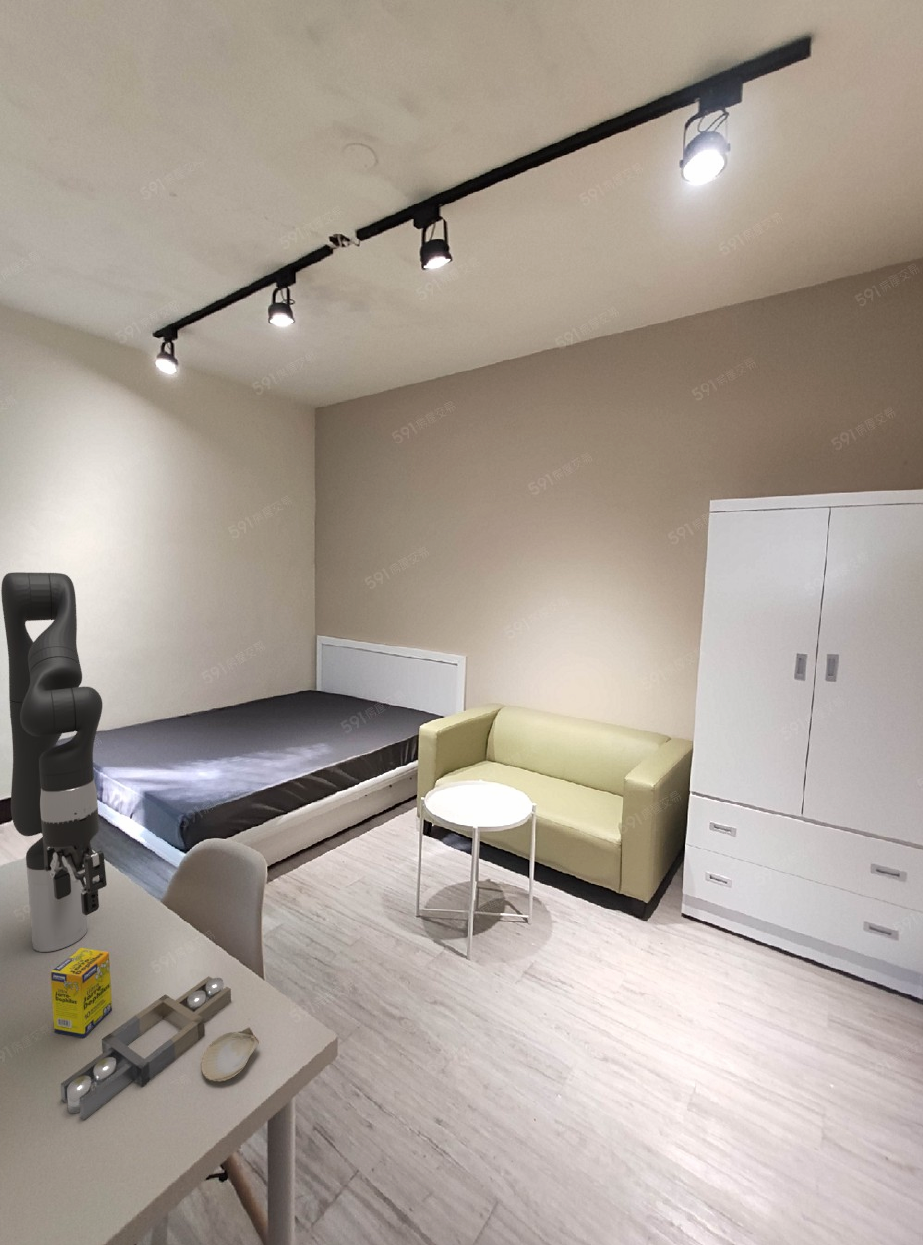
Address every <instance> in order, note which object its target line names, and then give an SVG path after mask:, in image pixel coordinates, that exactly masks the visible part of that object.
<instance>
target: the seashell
mask: <svg viewBox="0 0 923 1245" xmlns="http://www.w3.org/2000/svg"><path fill="white" fill-rule="evenodd" d="M259 1043H260V1041H259V1039H258V1038H257V1036H255V1035H254V1033H253V1030H252V1029H251V1027H247V1028H245V1029H242V1031H233V1032H227V1033H225V1034H222V1035H219V1036H218V1037H217V1038H215V1040H213V1041H212V1042H211V1043H210V1044H209V1046H208V1047H207V1048H206V1050H205V1051H204V1054H203V1056H202V1059H201V1061H200V1066H201V1067H200V1069H201V1073H202V1076H203V1077H204V1078H205V1079H206V1080H208V1081H210V1082H213V1083H217V1082H218V1083H221V1082H222V1081H223V1082H226V1081H227V1080H230V1079H232V1078H233V1077H236V1076H237V1075H238V1074H239V1073H241V1071H242V1070H243V1069H244V1068H245V1066H246V1065H247V1062H249V1059H250V1057H251V1055H252V1054H253V1053H254V1052H255V1050H256V1049H257V1047H258V1046H259Z"/></svg>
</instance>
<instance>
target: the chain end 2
mask: <svg viewBox="0 0 923 1245" xmlns="http://www.w3.org/2000/svg"><path fill="white" fill-rule="evenodd" d="M231 990H232V989H231V988H230V987H229V986H226V987H224V979H223V978H222V977H214V978H212V977H211V976H207V977H206V978H204V979H203V980H202V981H200V982H198V983H197V984H196V985H194V986H193V987H192V988H191V989H189V990H188V991H186V992H185V993H183V994H182V995H181V996H179V997H178V998H177V999H173V998H172V997H170V996H168V995H167V994H164V995H162V996H161V997H159V998H158V999H156V1000H155V1001H153V1002H152V1003H151V1004H149V1005H148V1006H146V1007H145V1008H144V1009H142V1010H141V1011H140V1012H138V1013H136V1014H135V1015H134V1016H136V1017H138V1018H139V1020H140V1036H142V1035H143V1034H145V1033H146V1032H147V1031H148V1030H149V1029H151V1028H153V1027H154V1026H155V1025H156V1024H158V1023H159V1022H160V1021H162V1020H163V1019H165V1020H166V1021H168V1022H169V1023H171V1024H172V1025H173V1026H175V1027H177V1028H178V1029H179V1031H178V1032H176V1033H175V1034H174V1035H172V1036H171V1038H169V1039H170V1040H172V1041H173V1042H174V1047H175V1061H176V1060H177V1059H178V1058H179V1057H181V1056H182V1055H183V1054H185V1053H186V1051H188V1050H190V1048H191V1047H193V1046H194V1045H195V1044H197V1043H198V1042H199V1041H200V1040H201V1039H203V1038H204V1037H205V1036H206V1029H205V1024H206V1023H207V1022H208V1021H209V1020H211V1019H212V1018H213V1017H215V1015H217V1014H218V1013H220V1011H222V1010H223V1009H224V1008H225V1007H226V1006H228V1005H229V1004H230V1003H232V992H231Z"/></svg>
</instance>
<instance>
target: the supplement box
mask: <svg viewBox="0 0 923 1245" xmlns="http://www.w3.org/2000/svg"><path fill="white" fill-rule="evenodd" d="M110 969H111V968H110V952H108V951H103V950H96V949H91V948H85V947H80V948H79V949H77V950H76V952H74V953H73V954H72V955H71V956H69V957H68V958H67V959H65V960H64V961H63V962H61V963H60V964H59V965H57V966H56V967H55V968H53V969H52V970H50V985H51V999H52V1014H53V1015H52V1016H53V1029H54V1030H53V1032H54V1033H56V1034H57V1033H58V1034H60V1035H61V1034H62V1035H66V1036H67V1035H68V1036H72V1037H77V1038H78V1037H79V1038H82V1039H83V1038H85V1037H86V1036H87V1035H89V1033H90V1032H91V1031H92V1030H93V1029H94V1028H96V1026H97V1025H98V1024H99V1023H100V1022H101V1021H102V1020H103V1019H104V1018H106V1017H107V1016H108V1015H109V1014H110V1013H111V1012H112V1010H113V1004H112V1003H113V1002H112V1000H113V999H112V985H111V970H110Z"/></svg>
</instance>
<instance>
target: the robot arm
mask: <svg viewBox="0 0 923 1245" xmlns="http://www.w3.org/2000/svg"><path fill="white" fill-rule="evenodd" d="M0 591H1V604H2V606H1V607H2V613H3V621H4V629H5V630H4V631H5V636H6V646H7V653H8V654H7V655H8V656H7V657H8V691H9V692H8V695H9V696H8V698H9V700H8V701H9V716H10V726H11V736H12V738H11V739H12V740H11V741H12V774H11V775H12V776H11V792H10V793H11V795H10V814H11V819H12V823H13V825H14V827H15V830H16V831H17V832H18V833H19V834H20V835H21V836H24V837H32V836H36V835H37V836H38V835H39V834H41V835H42V836H41V837H40V838H39V839H38V840H37V841H35V843H33V844H32V845H31V846H30V847H29V848H28V850H26V855H25V862H26V864H25V865H26V875H27V885H28V886H27V888H28V898H29V911H30V912H29V913H30V925H31V928H30V929H31V940H32V948H33V950H35V951H37V952H40V953H41V952H42V953H45V952H46V953H47V952H48V953H49V952H55V951H58V950H61V949H64V948H67V947H69V946H71V945H74V944H75V943H77V942H78V941H80V940H81V939H82V938H83V937H84V936H85V935H86V933H87V932H88V929H89V928H88V915H90V914H92V913H94V912H96V911H98V909H99V907H100V903H99V902H100V901H99V890H100V889H103V888H105V887H106V886H107V875H106V864H105V856H104V851H103V850H99V851H96V852H94V850H93V847H92V845H91V841H92V840H93V838H95V836H97V834H98V833H99V831H100V820H99V819H100V818H99V806H98V792H97V791H98V790H97V786H96V784H95V783H96V782H95V774H94V758H93V757H94V755H93V754H94V745H95V744H94V743H95V740H96V739H95V738H96V735H97V730H98V727H99V724H100V720H101V718H102V713H103V712H102V711H103V699H102V696H101V695H100V693H99V692H98V691H97V690H96V688H94V687H91V686H81V683H82V681H83V671H82V668H81V667H82V666H81V663H80V662H81V661H80V658H79V657H80V656H79V653H78V648H77V632H78V628H77V627H78V620H77V602H76V601H77V600H76V591H75V586H74V582H73V581H72V579H71V578H70V576H69V575H67V574H65V573H60V572H25V571H24V572H22V571H21V572H8V573H6V574H4V576H3V578H2V581H1V590H0ZM31 621H32V622H33V621H35V622H36V621H37V622H38V621H52V622H51V624H49V625H48V626H47V627H46V629H44V630H43V631H42V632H41V633H40V634H39V635H38V636H37V637H36V639H35V640H34V641H33V638H31V636H30V633H29V632H28V630H27V627H26V626H27V625H26V622H31ZM72 732H76V733H75V735H74V736H73V737H72V739H70V740H68V741H66V742H64V743H62V744H59V745H57V743H58V742H59V740H60V738H61V737H62V735H63V734H66V733H67V734H68V733H72ZM56 745H57V746H56Z"/></svg>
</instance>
